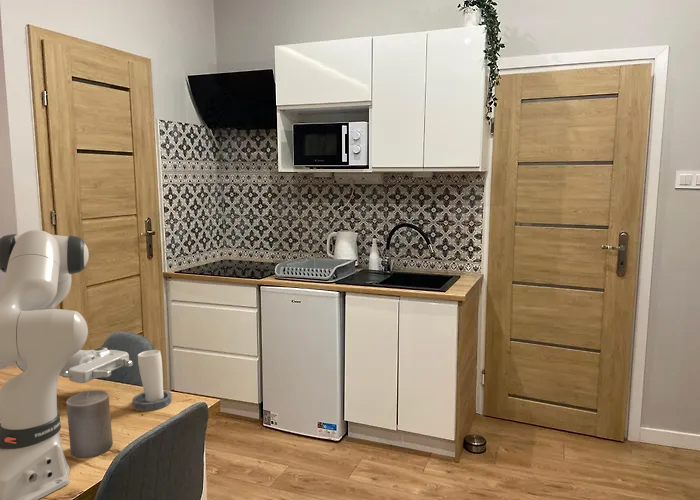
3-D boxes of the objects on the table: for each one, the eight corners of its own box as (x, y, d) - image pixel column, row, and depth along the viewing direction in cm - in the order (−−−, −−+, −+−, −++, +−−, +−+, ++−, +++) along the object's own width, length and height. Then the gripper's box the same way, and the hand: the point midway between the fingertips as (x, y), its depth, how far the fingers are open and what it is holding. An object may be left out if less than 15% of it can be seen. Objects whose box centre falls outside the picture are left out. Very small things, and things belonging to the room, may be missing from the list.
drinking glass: (138, 402, 163) (132, 355, 161) (155, 394, 169) (150, 348, 167) (154, 405, 160) (147, 357, 158) (171, 397, 166) (165, 350, 164)
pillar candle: (101, 436, 142) (97, 382, 140) (119, 447, 136) (115, 391, 134) (63, 450, 135) (58, 394, 133) (81, 463, 129) (75, 403, 127)
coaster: (156, 412, 157) (155, 406, 157) (125, 408, 160) (124, 401, 160) (178, 398, 168) (178, 392, 167) (149, 394, 171) (148, 388, 171)
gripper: (57, 365, 160) (94, 370, 156) (107, 346, 180) (141, 349, 176) (59, 385, 161) (96, 390, 157) (108, 364, 181) (142, 368, 176)
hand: (120, 368), depth 166 cm, fingers open, 8 cm apart
